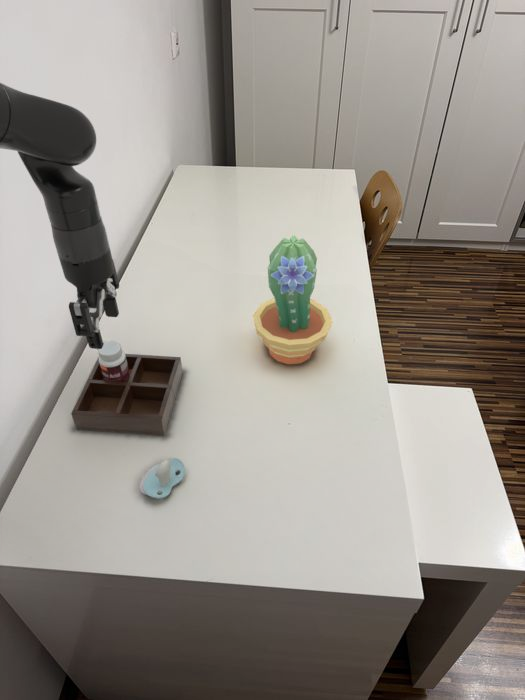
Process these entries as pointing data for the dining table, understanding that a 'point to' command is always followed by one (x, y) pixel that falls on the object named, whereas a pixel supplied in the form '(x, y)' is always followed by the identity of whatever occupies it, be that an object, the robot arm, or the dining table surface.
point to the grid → (130, 397)
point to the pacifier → (162, 478)
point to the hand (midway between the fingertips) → (105, 331)
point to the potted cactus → (292, 304)
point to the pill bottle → (113, 362)
